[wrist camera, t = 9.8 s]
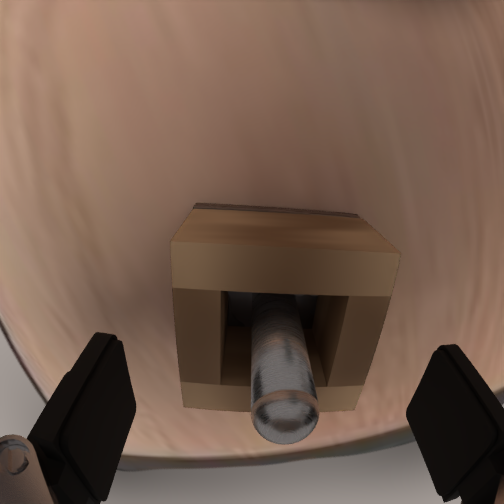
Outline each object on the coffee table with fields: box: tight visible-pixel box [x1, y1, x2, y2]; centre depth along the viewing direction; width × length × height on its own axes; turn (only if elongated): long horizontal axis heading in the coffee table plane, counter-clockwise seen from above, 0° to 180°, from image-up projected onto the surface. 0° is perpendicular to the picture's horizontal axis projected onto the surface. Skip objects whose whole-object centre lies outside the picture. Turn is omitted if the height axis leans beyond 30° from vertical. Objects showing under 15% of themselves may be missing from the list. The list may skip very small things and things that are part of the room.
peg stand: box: [193, 203, 361, 444], centre depth 11 cm, size 7×7×9 cm
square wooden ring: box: [170, 209, 401, 412], centre depth 12 cm, size 7×7×4 cm
